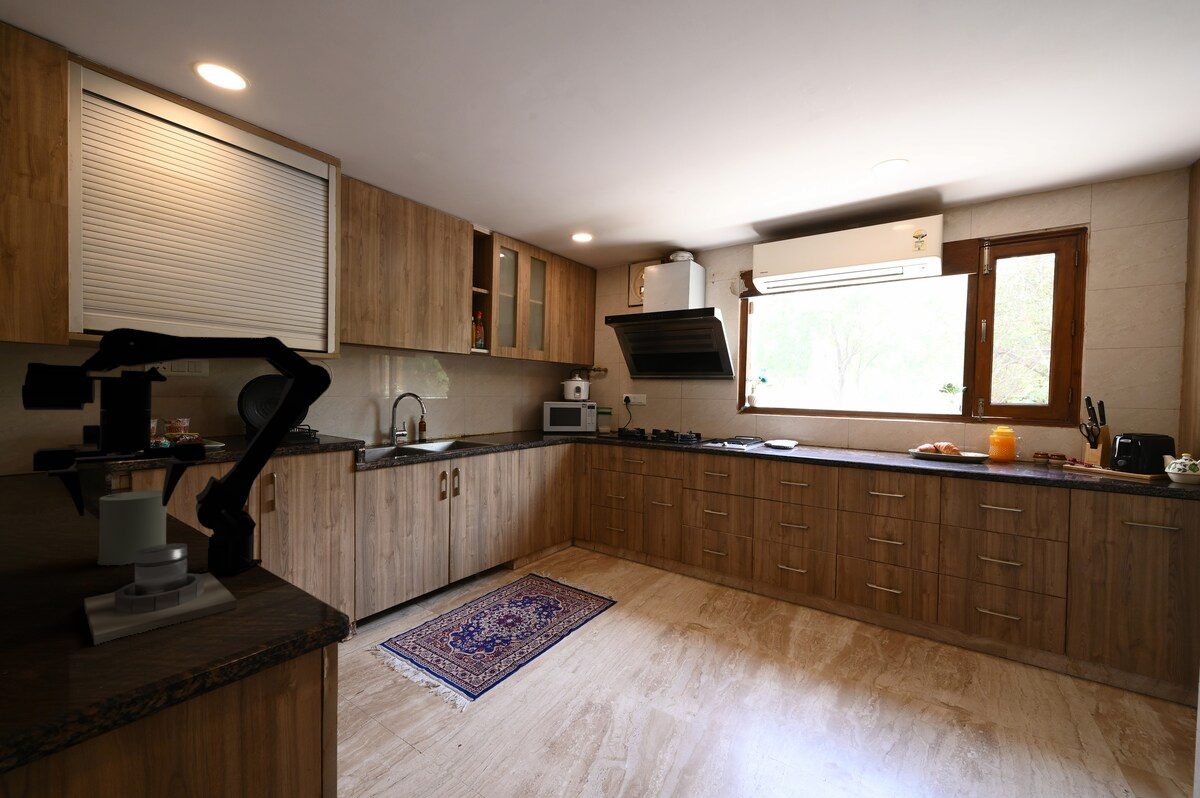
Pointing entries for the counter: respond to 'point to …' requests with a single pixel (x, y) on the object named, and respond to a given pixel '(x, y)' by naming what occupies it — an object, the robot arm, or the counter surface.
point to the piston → (160, 569)
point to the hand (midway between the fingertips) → (124, 510)
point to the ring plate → (155, 607)
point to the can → (130, 525)
